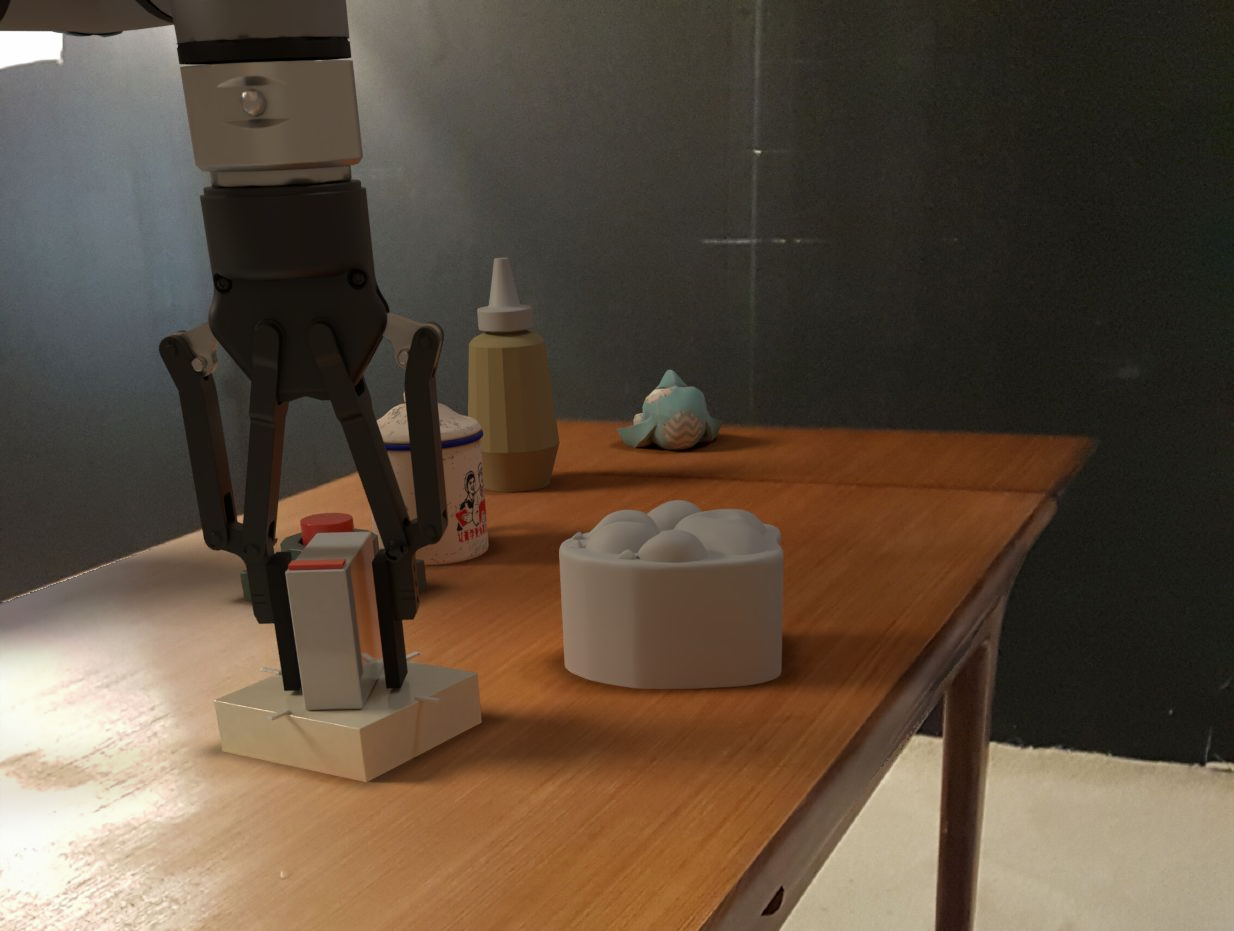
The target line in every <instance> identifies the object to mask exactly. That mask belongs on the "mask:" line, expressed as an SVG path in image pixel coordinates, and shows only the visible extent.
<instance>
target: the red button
mask: <svg viewBox="0 0 1234 931" xmlns="http://www.w3.org/2000/svg"><path fill="white" fill-rule="evenodd" d="M299 526H300V533H302V540H303V545H305V546H307V545H308V543H309V542H310V541H311V540H312V538H313V537H314V536H315V535H316V534H317V533H339V532H355V531H354V529H355V523H354V516H352V514H348V513H343V512H325V513H324V512H322V513H316V514H311V515H308V516H304V517H302V518H301V519H300V520H299Z"/></svg>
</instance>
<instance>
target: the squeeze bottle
mask: <svg viewBox="0 0 1234 931" xmlns="http://www.w3.org/2000/svg"><path fill="white" fill-rule="evenodd" d="M492 267H493V268H492V276H491V284H490V292H489V300H488V305H486V306H481V307H479V308H477V309H476V313H477V323H478V324H477V326H478V330H479V331H480V332H483V333H480V334H478V335H475V337H473V338H472V339H471V340H470V341H469V343H468V383H467V384H468V386H467V387H468V388H467V391H468V394H467V397H468V398H467V417H471V418H474V419H475V420H477V421H478V422H479V424H480V425H481V429H482V431H483V437H482V438H481V452H482V465H483V478H484V490H487V491H489V492H497V493H525V492H531V491H537V490H541V489H543V488H547V486H549V485H550V483H551V478H552V474H553V471H554V467H555V463H556V459H557V454H558V452H559V447H560V437H559V430H558V423H557V416H556V408H555V402H554V395H553V389H552V380H551V374H550V367H549V366H550V365H549V360H548V352H547V346H546V341H545V339H544V338H543V337H542V336H540V334H538V333H536V332H534V331H531V329H533V328H534V315H533V314H534V313H533V307H532V305H528V304H521V303H520V299H519V295H518V291H517V287H516V282H515V278H514V274H513V271H512V267H511V263H510V259H509V257H495V258H493V266H492Z"/></svg>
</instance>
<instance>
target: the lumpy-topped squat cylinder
mask: <svg viewBox="0 0 1234 931" xmlns="http://www.w3.org/2000/svg"><path fill="white" fill-rule="evenodd" d="M558 557H559V558H558V560H559V575H560V576H559V579H560V580H559V581H560V597H561V599H560V600H561V621H562V639H563V640H562V641H563V659H564V660H563V661H564V667H565V669H566V670H568V671H569V673H572V674H573V675H574V676H575V675H576V676H578V677H580V678H583V679H585V680H589V681H592V682H598V683H601V684H607V685H612V686H618V687H624V688H632V689H643V690H644V689H645V690H646V689H647V690H692V689H693V690H694V689H714V688H715V689H717V688H718V689H719V688H735V687H737V688H738V687H746V686H752V685H758V684H763V683H766V682H770V681H772V680H775V679H777V678H778V677H780V676H781V674H782V669H783V668H782V664H783V621H784V620H783V619H784V616H783V614H784V564H785V563H784V562H785V554H784V550H783V548H782V534H781V531H780V529H779V528H778V527H777V526H776V525H772V524H768V523H763V522H762V521H761V520H760V518H759V517H758V516H757V515H755V514H754V513H752V512H750V511H748V510H744V509H740V508H739V509H738V508H717V509H712V510H705V511H702V510H701V509H700V508H699V507H698V506H697V505H696V504H695V503H692V502H691V501H688V500H681V499H678V500H677V499H674V500H668V501H665V502H664V503H661V504H660V505H658V506H656V507H655V508H652V509H651V510H650V511H649V512H647V513H646V512H644V511H641V510H638V509H637V510H636V509H620V510H617V511H614V512H611V513H609V514H607V515H606V516H604V517H603V518H602V519H600V521H599V522H598V523H597V525H595V526H594V527H593V528H592V529H591V530H590V531H588V532H584V533H583V532H581V531H578V532H576V533H574V535H573V536H572V537H570V538H567V539H565V540H564V541H563V542H561V544H560V547H559V550H558Z"/></svg>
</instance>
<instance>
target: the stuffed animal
mask: <svg viewBox="0 0 1234 931" xmlns="http://www.w3.org/2000/svg"><path fill="white" fill-rule="evenodd" d="M632 421H633V424H631V425H629V426H625V427H617V428H615V430H616V432H617V434H618V435H619V437H620V439H621V440H622V442H623V443H624V444H626V445H628V446H629V447H631V448H634V449H635V448H646V447H650V446H654V445H657V446H658V447H660V448H661V449H664V450H665V451H666V450H667V451H685V450H689V449H691V448H693V447H695V446H696V444H700V443H712V442H713V441H714V440H715V438H716V437H717V436H718V434H719V433H720V430H721V428H722V425H723V422H724V420H723V419H717V418H715V417H713V416H711V415H710V413H709V411H708V406H707V402H706V397H705V394H704V392H702V390H700V389H699V388H698V387H695V386H692V385H687V384H686V383H685V382H684V381H683V380H682V378H681V376H679V375H678V374H677V372H675V370H673V369H667V370H666V372H665V373H664V375H663V376H662V378H661V380H660V382H659V384H658V385H657V386H656V387H655V389H653V390H652V391H651V392H650V393H648V395H647V396H646V397H645V399H644V401H643V404H642V412H639V413H635V415H634V417H633V420H632Z"/></svg>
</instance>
